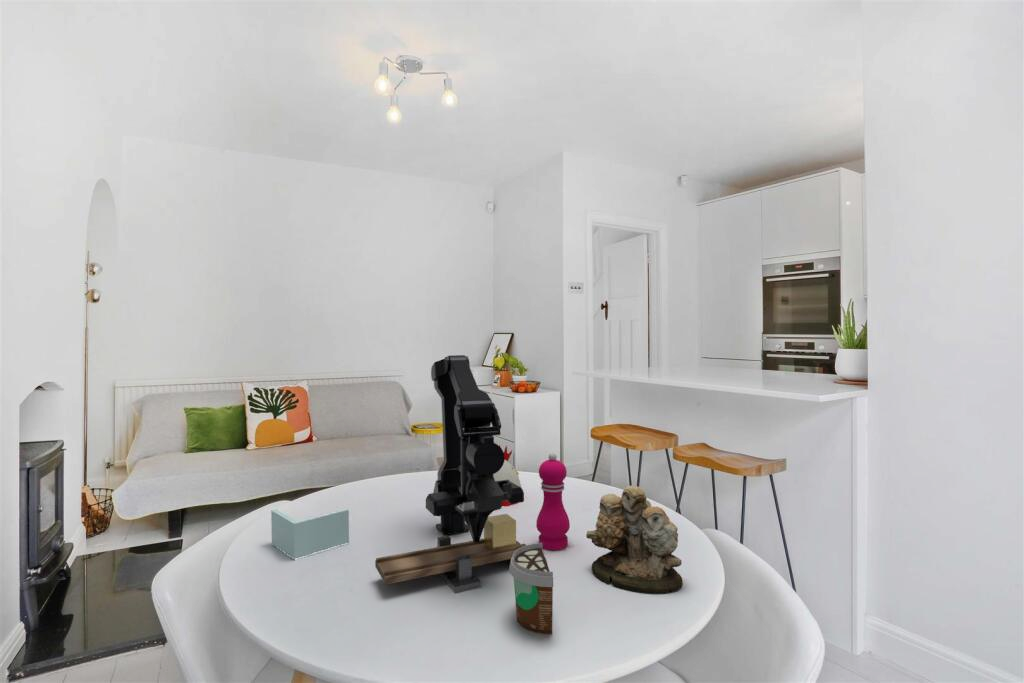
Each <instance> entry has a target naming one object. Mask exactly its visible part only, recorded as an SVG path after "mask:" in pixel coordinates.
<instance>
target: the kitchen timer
mask: <svg viewBox="0 0 1024 683" xmlns="http://www.w3.org/2000/svg"><path fill="white" fill-rule="evenodd" d="M498 446H500V447H501V445H500V444H498ZM512 452H513V449H511V450H510V451H509V453H508V446H507V445H505V447H504V451H503V453H504V455H505V460H504V464H503V466H502V468H501V469H500V470H499V471H498V472H496V473H495V474H493V477H494V480H495V481H502V480H509V481H510V482H512V483H514V484H516V485H518V486H519V487H521V488H522V489H523V487H522V483H521V480H520V478H519V472H518V470H516V469H515V467H514V466H513V464H512V463H511V462H510V461H509V460H510V457H511V455H512ZM517 504H518V503H514V504H511V503H509V502H508V501H507V500H506V501H503V502H502V506H504V507H510V505H511V506H514V505H517Z"/></svg>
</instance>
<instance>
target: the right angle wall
mask: <svg viewBox="0 0 1024 683" xmlns="http://www.w3.org/2000/svg"><path fill="white" fill-rule="evenodd" d="M270 511H271V513H270V514H271V518H270V520H271V545H272V544H273V545H274V547H275V546H276V547H278V548H279V549H281V550H282V551H284V552H285V553H286V554H288V555H290V556H291V557H293V558H294V559H295V558H299V557H302V556H306V555H309V554H312V553H314V552H318V551H321V550H325V549H328V548H331V547H334V546H338V545H341V544H345V543H348V542H349V543H350V520H349V518H350V517H349V516H350V513H349V511H350V510H349V509H348V508H345V509H341V510H336V511H334V512H329V513H326V514H322V515H317V516H313V517H310V518H305V519H302V520H298V521H297V520H296V519H294V518H292V517H291V516H289V515H287V514H285V513H283V512H282V511H280V510H278V509H271V510H270ZM273 545H272V546H273ZM276 547H275V548H276ZM278 548H277V549H278ZM279 549H278V550H279ZM281 550H280V551H281ZM282 551H281V552H282ZM285 553H284V554H285ZM286 554H285V555H286ZM288 555H287V556H288ZM291 557H290V558H291ZM294 559H293V560H294Z"/></svg>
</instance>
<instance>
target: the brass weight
mask: <svg viewBox="0 0 1024 683" xmlns="http://www.w3.org/2000/svg"><path fill="white" fill-rule="evenodd" d="M483 539H484V545H485V546H486V547H487V548H488V549H489V550H494V549H499V548H504V547H510V546H515V545H516V541H517V520H516V519H515V518H513V517H511V515H509V514H507V513H503V514H497V515H491V516H490V515H489V516H488V518H487V521H486V523H485V526H484V529H483Z"/></svg>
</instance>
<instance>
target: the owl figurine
mask: <svg viewBox="0 0 1024 683" xmlns="http://www.w3.org/2000/svg"><path fill="white" fill-rule="evenodd" d="M596 519H597V520H596V522H595V528H596V529H595V530H587V531H586V535H585V537H586V538H587V539H590V540H591V544H594V546H595V547H597V548H603V549H607V550H608V552H606V553H604V554H603V555H600V556H598V557H597V559H596V560H594V561H593V562H592V563H591V571H592V574H593V575H594V576H595V578H596V579H597V580H599V581H601V582H604V583H606V584H607V585H609V584H610V583H611V585H612V586H613V587H614V588H618V589H622V590H625V591H629V592H634V593H640V594H641V593H642V594H652V595H657V594H658V595H660V594H663V595H664V594H667V593H670V591H671V592H677V591H678V590H680V589H681V588H682V587H683V584H684V583H683V578H682V576H681V574H680V573H679V572H678V571H677V570H676V569H675V568H678V567H680V566H682V559H681V558H679V557H677V556H675V555H673V554H672V553H674V552H675V551H676V549H677V548H678V542H679V539H678V537H679V533H678V526H677V525H676V524H675V523H674V522H672V521H671V519H670V517H669V516H668V515H667V513H666V511H665V510H664V509H663V508H661V507H658V506H652V504H651V502H650V501H649V500H648V499H647V494H646V492H645V491H644V490H643V489H642V488H641V487H639V486H638V485H637V486H636V485H635V484H633V485H629V486H626V487H624V488H623V490H622V494H621V497H620V496H618V495H616V494H614V493H606V494H604V495H602V496H601V498H600V501H599V512H598V515H597V518H596ZM610 578H611V579H610Z"/></svg>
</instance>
